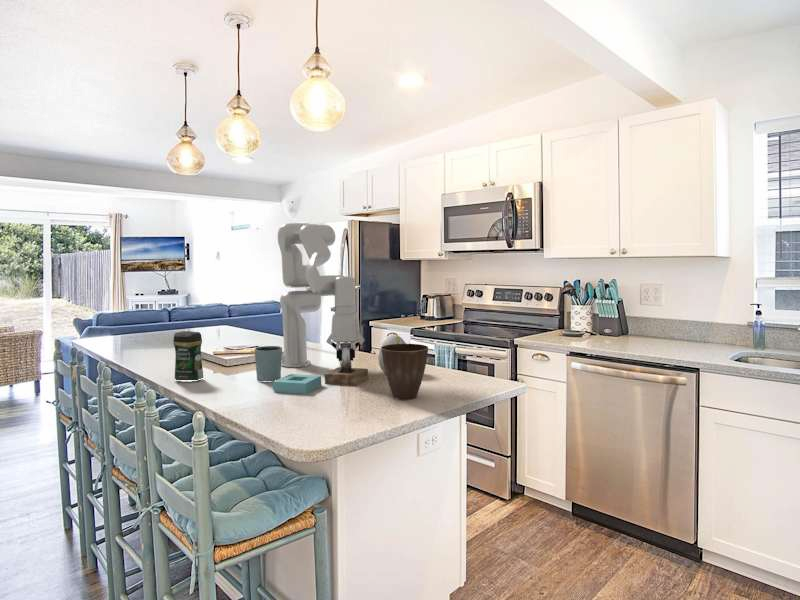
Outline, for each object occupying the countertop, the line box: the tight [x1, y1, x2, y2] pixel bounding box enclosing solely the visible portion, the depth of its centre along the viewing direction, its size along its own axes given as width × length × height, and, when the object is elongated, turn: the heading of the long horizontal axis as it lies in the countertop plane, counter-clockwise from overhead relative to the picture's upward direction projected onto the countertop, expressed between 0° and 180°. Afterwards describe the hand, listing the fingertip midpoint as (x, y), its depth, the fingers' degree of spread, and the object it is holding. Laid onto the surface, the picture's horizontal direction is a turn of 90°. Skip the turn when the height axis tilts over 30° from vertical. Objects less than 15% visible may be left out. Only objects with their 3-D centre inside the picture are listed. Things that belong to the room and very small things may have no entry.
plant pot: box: [380, 343, 429, 401], centre depth 160 cm, size 15×15×16 cm
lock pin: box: [339, 342, 352, 372], centre depth 184 cm, size 4×4×10 cm
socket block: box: [272, 373, 322, 395], centre depth 173 cm, size 12×12×4 cm
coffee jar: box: [173, 330, 204, 380], centre depth 187 cm, size 10×8×19 cm
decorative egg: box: [378, 334, 407, 375], centre depth 196 cm, size 12×12×15 cm
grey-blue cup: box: [254, 345, 283, 382], centre depth 187 cm, size 10×10×12 cm
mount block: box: [324, 366, 369, 386], centre depth 184 cm, size 12×12×4 cm
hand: (345, 359), depth 184 cm, fingers closed on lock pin, 4 cm apart
